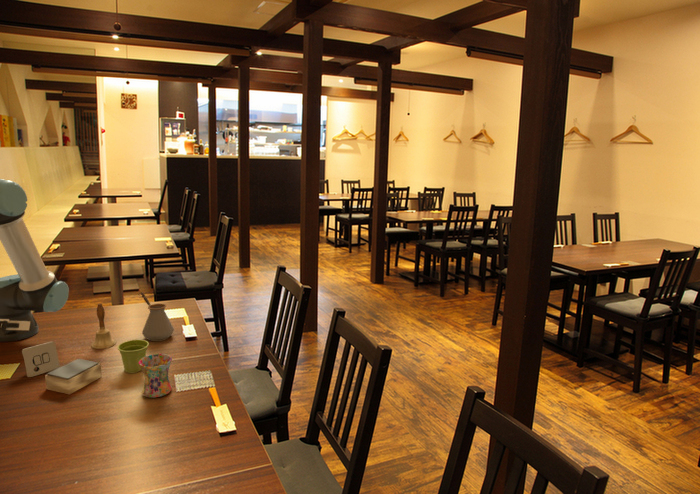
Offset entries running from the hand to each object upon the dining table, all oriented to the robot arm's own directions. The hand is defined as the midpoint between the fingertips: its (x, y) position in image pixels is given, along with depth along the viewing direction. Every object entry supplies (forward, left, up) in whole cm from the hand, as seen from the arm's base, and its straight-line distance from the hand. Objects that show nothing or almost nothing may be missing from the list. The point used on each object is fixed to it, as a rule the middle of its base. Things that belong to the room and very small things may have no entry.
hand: (18, 324), depth 148 cm
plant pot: (-15, +30, -17) cm, 38 cm away
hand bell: (-27, +5, -17) cm, 33 cm away
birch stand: (-1, +20, -17) cm, 26 cm away
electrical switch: (-3, +3, -17) cm, 18 cm away
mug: (-6, +46, -17) cm, 50 cm away
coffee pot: (-42, +15, -17) cm, 48 cm away
